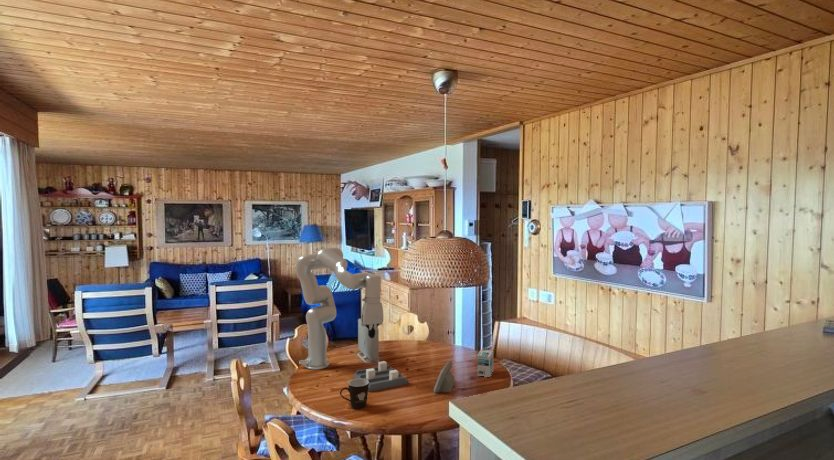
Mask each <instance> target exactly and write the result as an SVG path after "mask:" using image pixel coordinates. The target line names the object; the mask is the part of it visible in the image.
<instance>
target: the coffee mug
mask: <svg viewBox="0 0 834 460" xmlns="http://www.w3.org/2000/svg"><path fill="white" fill-rule="evenodd" d="M368 386H369V381H368V380H366V379H355V378H354V379H351V380H349V381H348V387H344V388H341V389H340V391H339V396H340V397H341V398H343V399H344V400H346V401H349V402H350V407H351V408H352V409H353V410H362V409H365V408H366V407H367V403H368V394H369V392H368ZM344 390H347V391H348V392H349V398H347V397H344V395H343V394H342V392H343V391H344Z"/></svg>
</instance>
